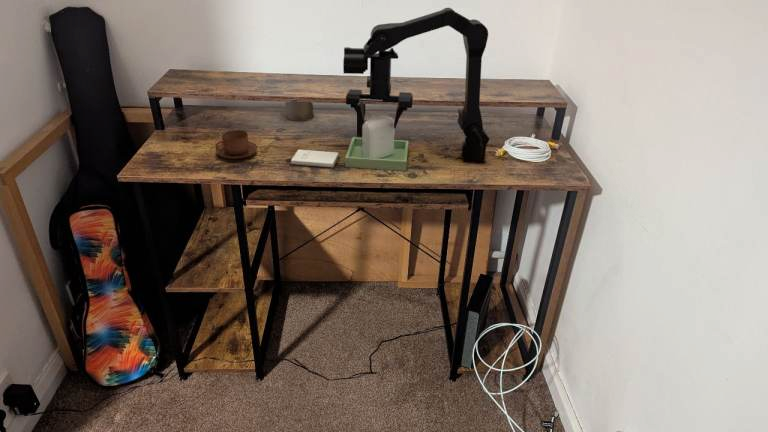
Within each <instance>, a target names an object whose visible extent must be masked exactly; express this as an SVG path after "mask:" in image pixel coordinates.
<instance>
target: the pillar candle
mask: <svg viewBox="0 0 768 432" xmlns="http://www.w3.org/2000/svg"><path fill="white" fill-rule="evenodd" d="M284 104H285V117H286V118H287V119H288V120H290V121H292V122H293V121H294V122H303V121H309V120H311V119H313V118H314V105H313V104H314V103H311V102H285V101H284Z"/></svg>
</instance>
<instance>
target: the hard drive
mask: <svg viewBox="0 0 768 432" xmlns="http://www.w3.org/2000/svg"><path fill="white" fill-rule="evenodd" d="M339 157H340V152H336V151H325V150H324V151H323V150H310V149H297V151H296V152H295V154H293V156H292V158H291V160H290V163H291V165H298V166H308V167H321V168H332V169H333V168H334V167H335V165H336V163H337V162H338V160H339Z"/></svg>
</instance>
